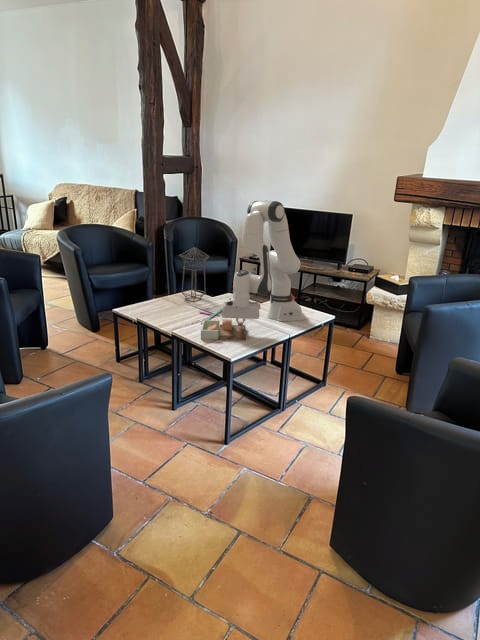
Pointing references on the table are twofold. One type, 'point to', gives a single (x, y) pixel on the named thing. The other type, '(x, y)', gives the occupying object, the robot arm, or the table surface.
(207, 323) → the tray
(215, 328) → the tile
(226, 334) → the brown wooden board
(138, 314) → the table surface
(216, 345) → the table surface
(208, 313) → the squeegee
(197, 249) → the geometric lantern
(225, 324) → the light brown wooden block
